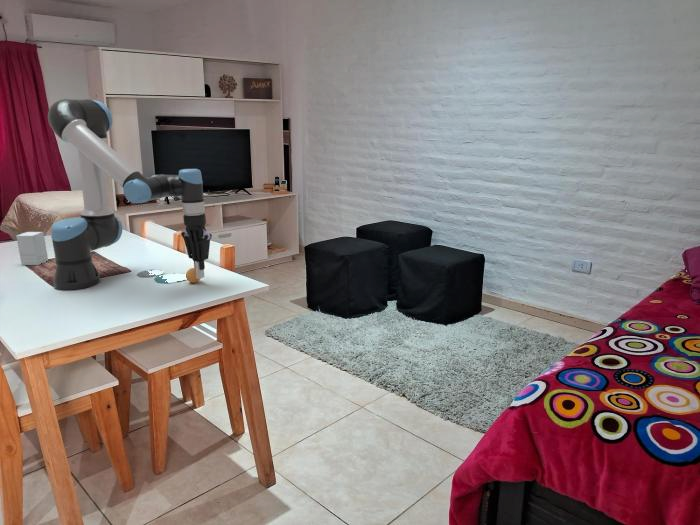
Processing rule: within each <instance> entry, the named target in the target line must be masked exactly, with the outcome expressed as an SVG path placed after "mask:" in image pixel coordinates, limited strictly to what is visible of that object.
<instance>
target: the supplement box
mask: <svg viewBox="0 0 700 525" xmlns="http://www.w3.org/2000/svg"><path fill="white" fill-rule="evenodd" d="M15 237H16V241H17V248H18V253H19V258H20V262H21V266H39V265H42V264H44V263H47V262H48V261H49V258H48V257H49V256H48V251H47V246H46V240H45V239H46V238H45V233H44V231H26V232H22V233H21V234H20V233H19V234H17V235H16V236H15ZM46 261H47V262H46ZM43 262H44V263H43ZM41 263H42V264H41Z"/></svg>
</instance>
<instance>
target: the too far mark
mask: <svg viewBox="0 0 700 525" xmlns="http://www.w3.org/2000/svg"><path fill="white" fill-rule="evenodd" d="M150 270H151V271H152V270H153V269H150ZM149 274H150V273H149V272H148V271H146V270H141V271H139V272H137V273H136V276H137V277H138V276H139V278H154V277H153V276H156V275H155V274H154V275H149ZM151 274H152V273H151ZM156 277H157V276H156Z"/></svg>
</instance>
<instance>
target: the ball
mask: <svg viewBox="0 0 700 525" xmlns="http://www.w3.org/2000/svg"><path fill="white" fill-rule="evenodd" d="M186 278H187V280H186V281H188V282H189V283H191V284H197V283H198V282H200V280H201V279H196V270H195V268H194V267H191V268H189V269H187V271H186Z"/></svg>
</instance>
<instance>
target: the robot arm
mask: <svg viewBox="0 0 700 525" xmlns="http://www.w3.org/2000/svg"><path fill="white" fill-rule="evenodd" d="M47 121H48V125H49V126H50V128H51V130H52V131H53V132H54V134H55V135H56V136H57V137H58V138H59V139H61V140H62V141H63V142H64V143H65V144H71V145H72V146H73V147H75V148H76V149H77V155H78V163H79V172H80V183H81V190H82V200H83V210H82V211H81V212H80V214H79V215H80V217H70V218H64V219H61V220H59V221H56V222H55V223H53V224H52V225H51V227H50V229H51V231H50V232H51V235H50V236H51V237H50V238H51V240H52V246H53V253H54V259H55V265H56V266H55V271H54V274H53V275H54V276H53V287H54V289H57V290H62V291H72V290H81V289H86V288H90V287H93V286H96V285H98V284H100V282H101V277H100V276H101V275H100V274H99V272H98V270H97V268H96V266H95V264H94V262H93V259H92V251H95V250H100V249H101V248H107V247H109V246H112V245H114V244H115V243H117V242H119V240H120V239H121V237H122V234H123V224H122V222H121V220H119V219H120V218H118V217H117V216H116V215H115V211H114V210H113V209H112V208H111V207H110V202H109V201H110V200H109V191H108V180H107V179H108V178H107V176H109V177H110V178H111V179H112V180H113V181H114V182H116V184H118V185H119V186H120V187H121V188H122V191H123V195H124V196H125V199H126V200H127V201H128V202H130V203H132V204H142V203H143V204H144V203H147V202H151V201H153V200H159V199H163V198H166V197H168V198H169V197H180V198H181V206H182V207H181V208H182V209H181V210H182V214H184V215H183V216H182V218H183V225H184V226H185V230H184V231H182V232H180V235H181V237H182V238H183V241H184V245H185V249H186V252H187V257H188V258H189V259H190V260H192V261H193V268H195V270H196V279H200V280H202V279H203V278H205V267H206V266H205V261H206V260H207V259H209V255H210V246H211V245H210V244H211V240H212V237H213V234H212V233H208V232H207V229H206V224H207V218H206V217H207V216H206V214H205V212H206V210H205V199H204V188H203V184H204V182H203V178H202V172H201V170H200V169H198V168H183V169H180V170H179V171H178V174H163V173H159V174H153V175H151V177H146V176H144V174H142V173H141V172H140V171H139V170H137V169H136V168H135V167H134V166H133V165H132V164H130V162H128V160H126V159H125V158H124V157H122V156H121V155H120V154H119V153H118V152H116V151H115V150H114V149H113V148H112V147H111V146H109V145H108V144H107V143H106V140H107V139H108V134H107V132H109V131H110V129H111V128H112V126H113V116H112V114H111V111H110V109H109V108H108V107H107V106H106V105H105V104H104V103H103V102H101V101H100V100H99V101H98V100H94V99H89V98H88V99H87V98H86V99H74V98H73V99H70V98H69V99H68V98H64V99H59V100H57V101H55V102H54V103H52V104H51V106H50V108H49V109H48V114H47Z"/></svg>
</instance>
